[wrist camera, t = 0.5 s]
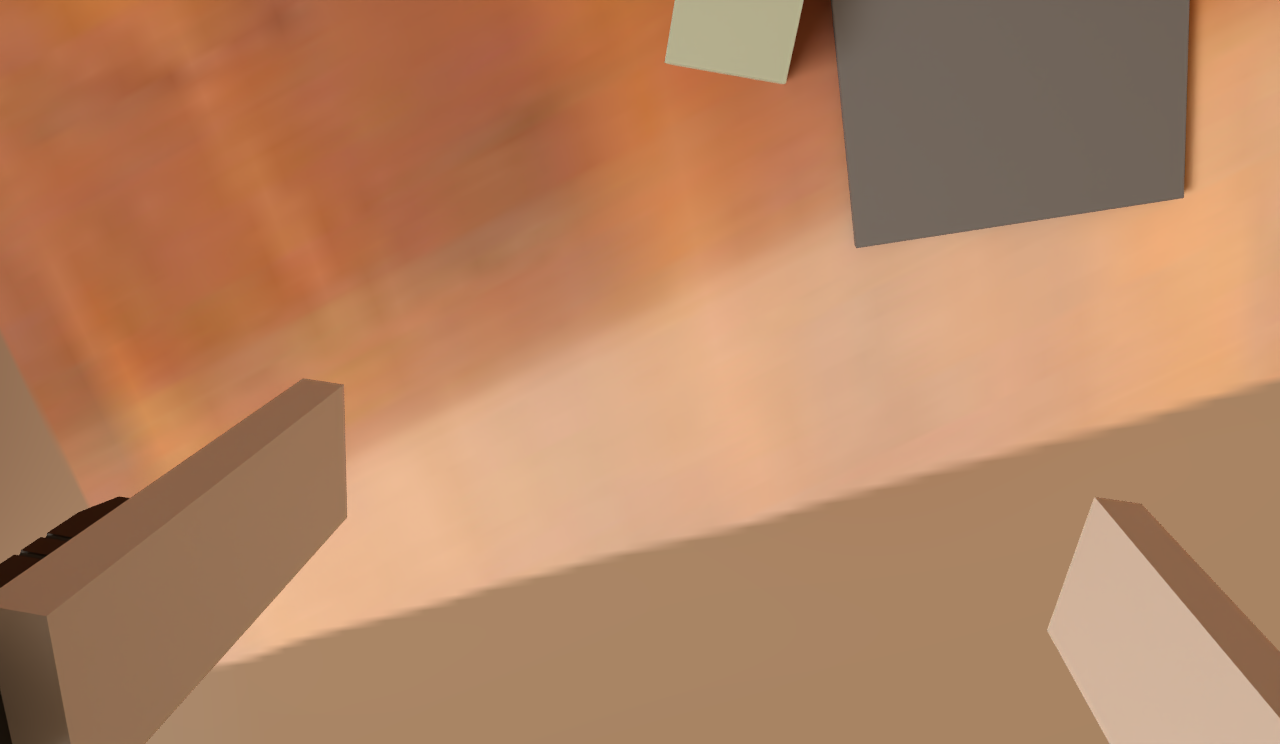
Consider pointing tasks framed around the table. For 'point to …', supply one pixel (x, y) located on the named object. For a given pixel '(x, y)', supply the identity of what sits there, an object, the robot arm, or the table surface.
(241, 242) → the table surface
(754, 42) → the sage block
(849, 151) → the coaster
